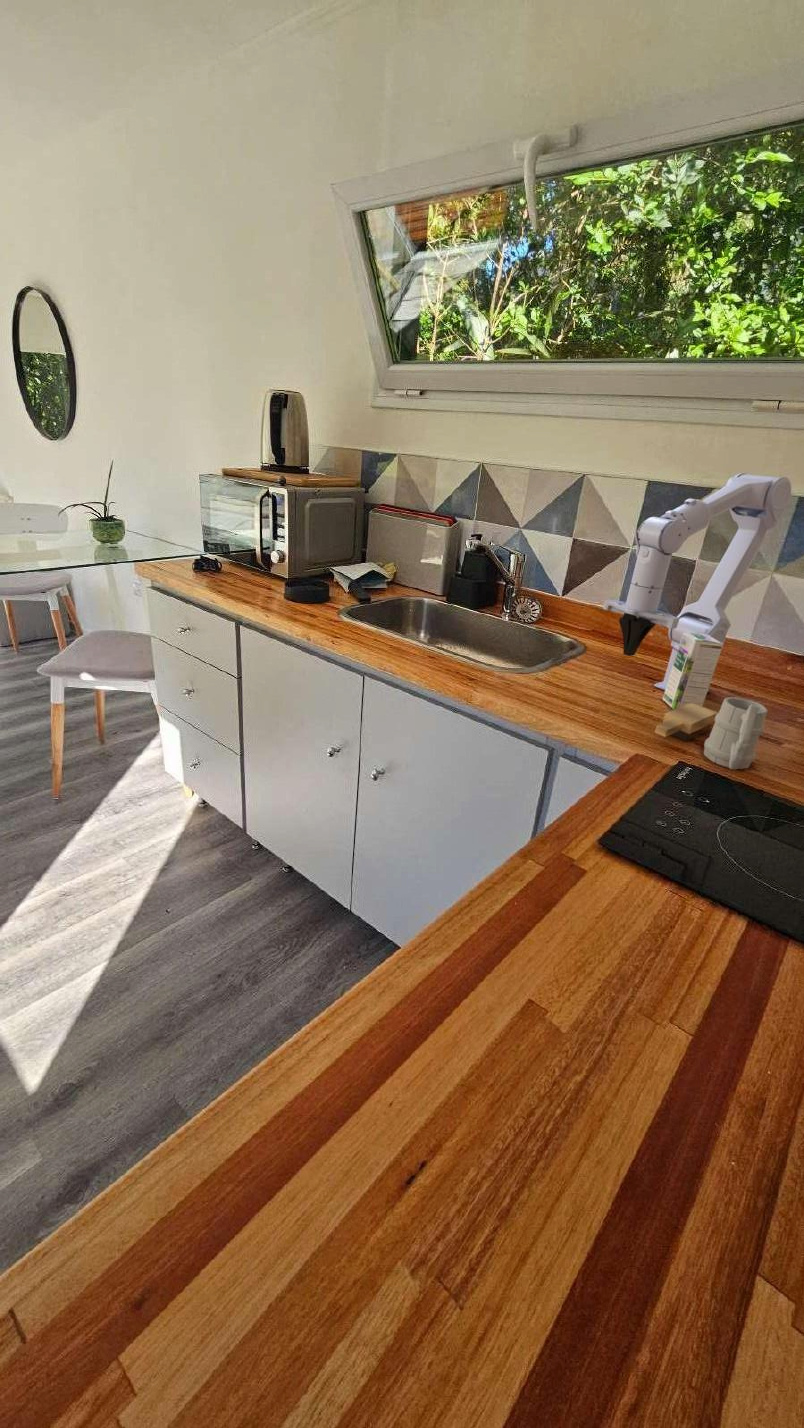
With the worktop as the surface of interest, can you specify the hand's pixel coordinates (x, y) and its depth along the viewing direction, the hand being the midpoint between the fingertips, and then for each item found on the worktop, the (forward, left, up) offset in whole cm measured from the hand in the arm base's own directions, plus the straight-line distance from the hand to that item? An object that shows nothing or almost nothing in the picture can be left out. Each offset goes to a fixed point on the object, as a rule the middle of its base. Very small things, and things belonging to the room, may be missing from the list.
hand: (628, 654), depth 116 cm
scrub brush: (+5, +16, -9) cm, 19 cm away
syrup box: (-9, +9, -10) cm, 16 cm away
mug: (+9, +26, -10) cm, 29 cm away
